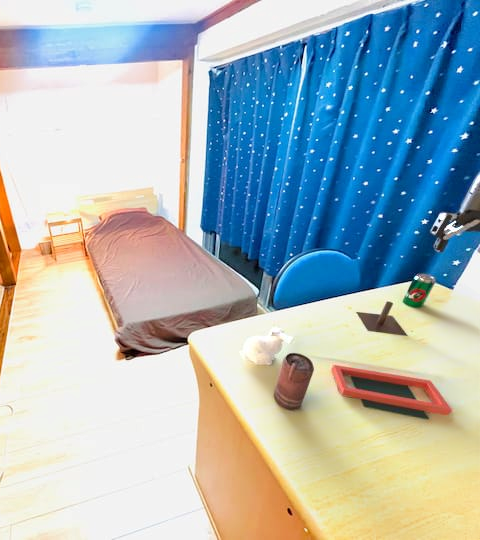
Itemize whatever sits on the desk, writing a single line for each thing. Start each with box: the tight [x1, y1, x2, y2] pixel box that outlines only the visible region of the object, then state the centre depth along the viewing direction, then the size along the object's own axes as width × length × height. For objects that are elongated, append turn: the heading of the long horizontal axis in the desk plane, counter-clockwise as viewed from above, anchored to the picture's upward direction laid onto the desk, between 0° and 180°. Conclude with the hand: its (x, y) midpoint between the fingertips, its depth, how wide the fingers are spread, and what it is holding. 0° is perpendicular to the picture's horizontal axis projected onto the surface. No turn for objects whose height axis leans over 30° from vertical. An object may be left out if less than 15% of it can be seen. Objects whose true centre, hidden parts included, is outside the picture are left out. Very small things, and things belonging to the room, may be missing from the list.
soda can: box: [402, 273, 437, 309], centre depth 94 cm, size 5×5×12 cm
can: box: [273, 352, 315, 412], centre depth 67 cm, size 6×6×14 cm
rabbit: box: [239, 327, 294, 366], centre depth 79 cm, size 12×9×12 cm
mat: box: [349, 376, 430, 420], centre depth 70 cm, size 12×12×1 cm
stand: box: [355, 301, 409, 337], centre depth 88 cm, size 10×10×9 cm
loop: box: [331, 364, 453, 416], centre depth 70 cm, size 8×20×2 cm, turn 71°
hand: (459, 252), depth 72 cm, fingers open, 8 cm apart
